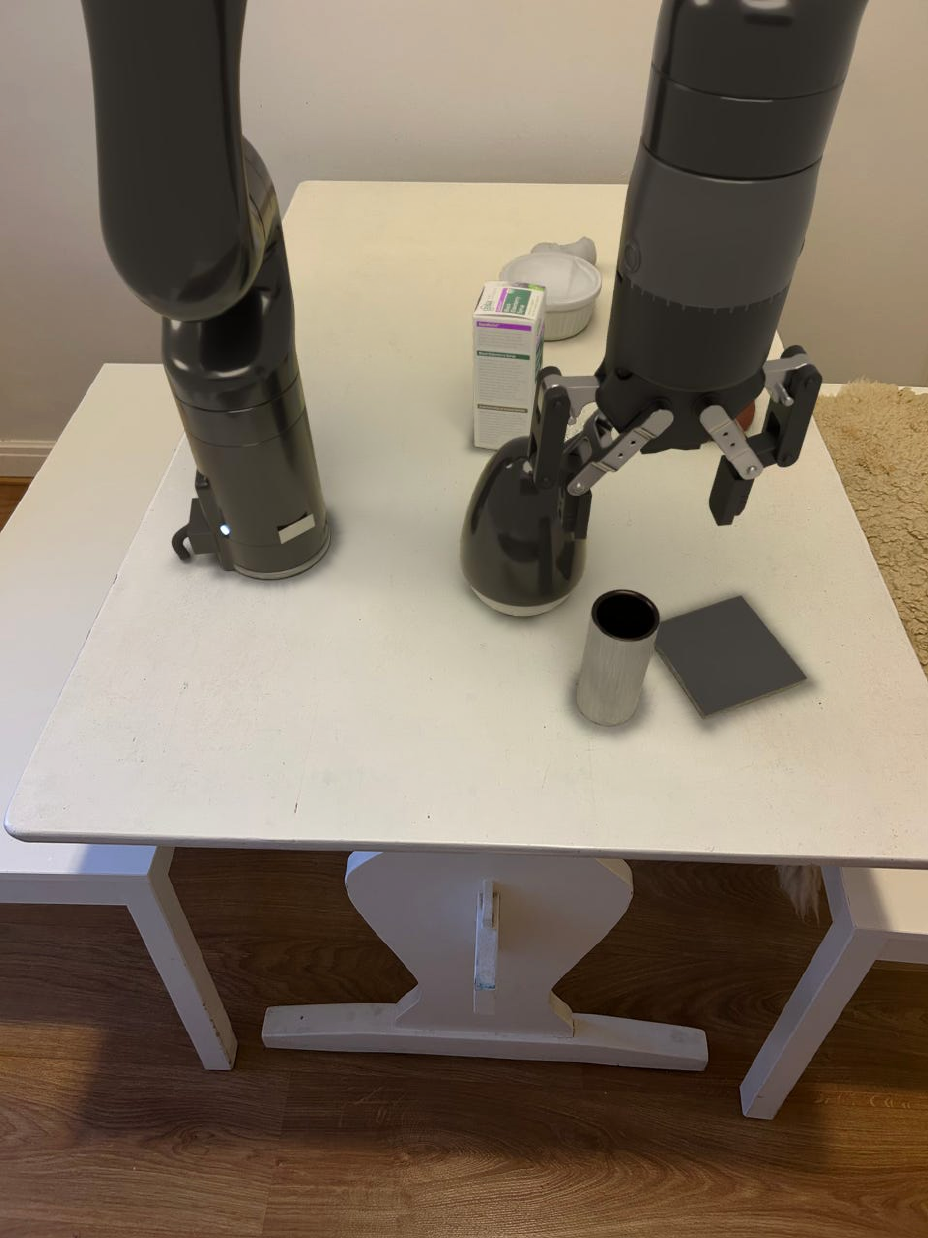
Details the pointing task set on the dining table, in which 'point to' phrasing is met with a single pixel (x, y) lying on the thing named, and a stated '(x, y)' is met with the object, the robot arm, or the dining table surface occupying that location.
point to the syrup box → (506, 359)
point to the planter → (616, 655)
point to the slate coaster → (725, 656)
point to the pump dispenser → (518, 538)
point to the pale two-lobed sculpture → (571, 249)
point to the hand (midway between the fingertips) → (647, 523)
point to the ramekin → (559, 289)
